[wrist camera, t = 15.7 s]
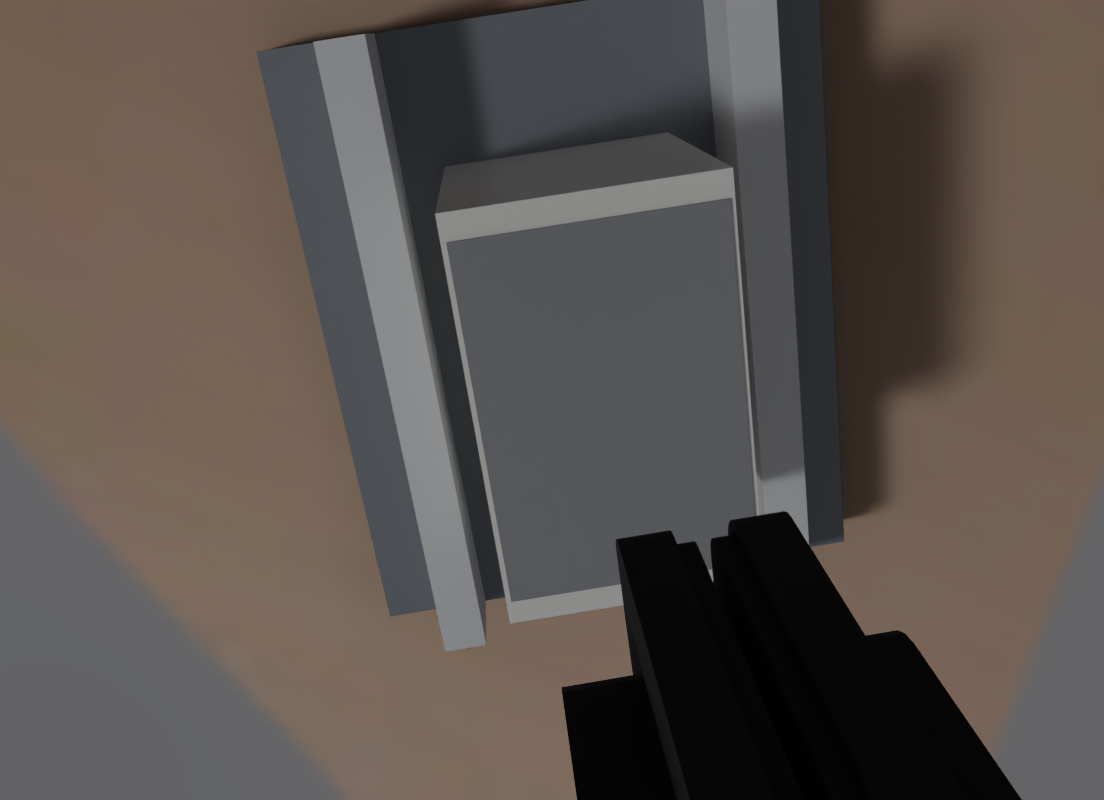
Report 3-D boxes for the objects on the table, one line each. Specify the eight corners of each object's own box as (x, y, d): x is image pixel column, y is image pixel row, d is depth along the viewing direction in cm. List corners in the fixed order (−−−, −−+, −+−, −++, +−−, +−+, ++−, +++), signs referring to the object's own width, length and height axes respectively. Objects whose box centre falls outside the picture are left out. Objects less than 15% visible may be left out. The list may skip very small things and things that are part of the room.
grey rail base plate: (265, 50, 22) (235, 53, 19) (803, -33, 22) (850, -42, 19) (393, 595, 27) (383, 661, 24) (831, 523, 27) (872, 581, 24)
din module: (444, 166, 22) (434, 214, 16) (667, 132, 22) (733, 167, 17) (501, 489, 25) (510, 625, 19) (699, 457, 25) (765, 583, 19)
